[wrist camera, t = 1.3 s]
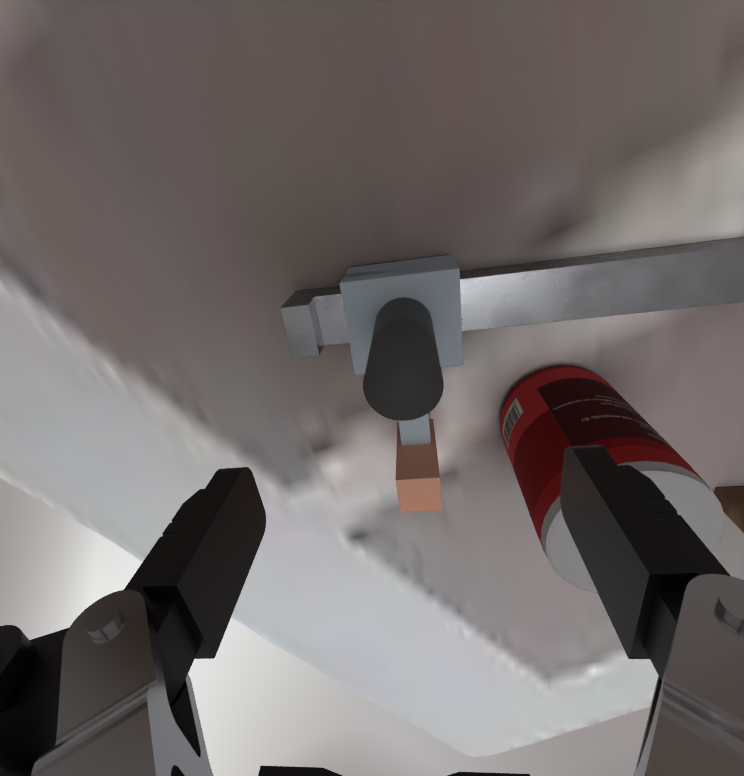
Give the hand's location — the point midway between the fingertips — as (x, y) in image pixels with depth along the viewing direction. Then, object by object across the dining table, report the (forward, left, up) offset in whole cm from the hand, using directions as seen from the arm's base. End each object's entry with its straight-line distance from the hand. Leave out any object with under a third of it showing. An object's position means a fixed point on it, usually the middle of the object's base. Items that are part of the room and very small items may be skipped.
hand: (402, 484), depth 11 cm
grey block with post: (+4, 0, -16) cm, 17 cm away
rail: (0, +9, -17) cm, 19 cm away
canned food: (+9, +10, -17) cm, 21 cm away
